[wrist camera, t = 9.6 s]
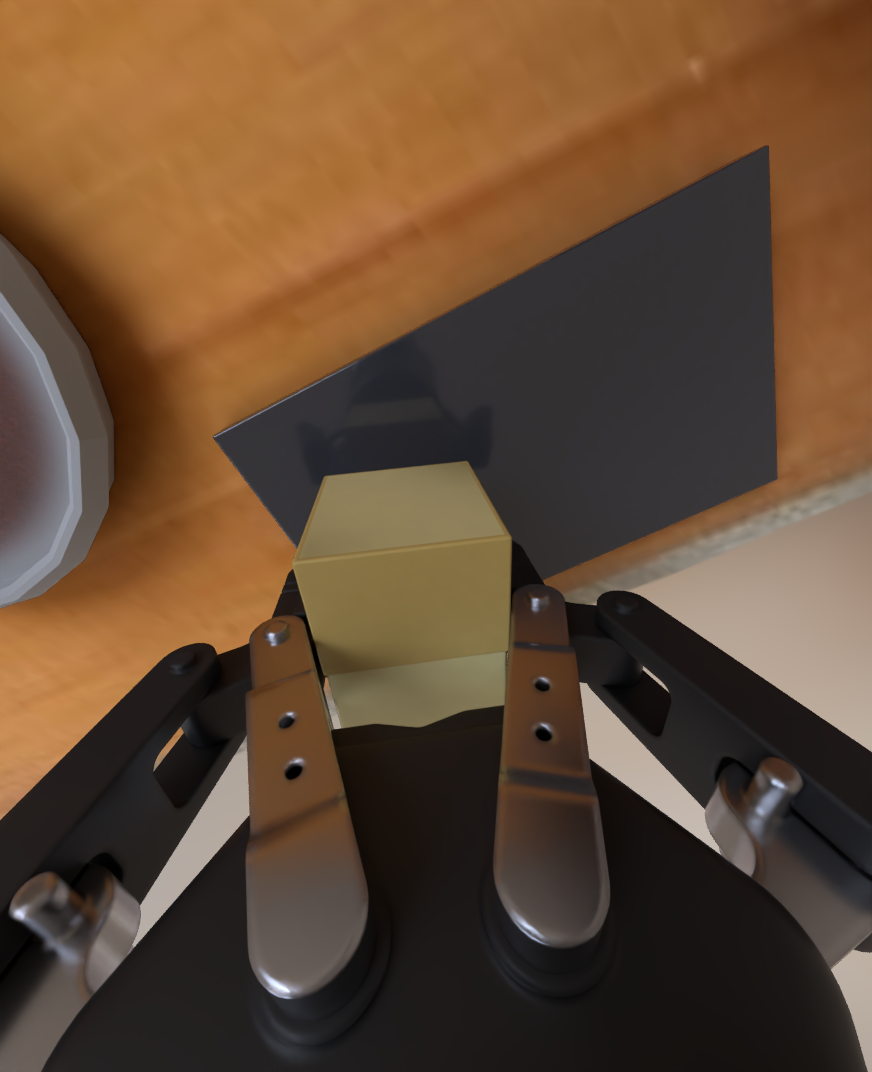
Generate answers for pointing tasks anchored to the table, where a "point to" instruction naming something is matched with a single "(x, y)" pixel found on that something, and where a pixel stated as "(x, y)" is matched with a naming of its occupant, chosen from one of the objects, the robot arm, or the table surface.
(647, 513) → the slate board
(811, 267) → the table surface
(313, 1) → the table surface
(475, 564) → the butter
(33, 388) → the frying pan
